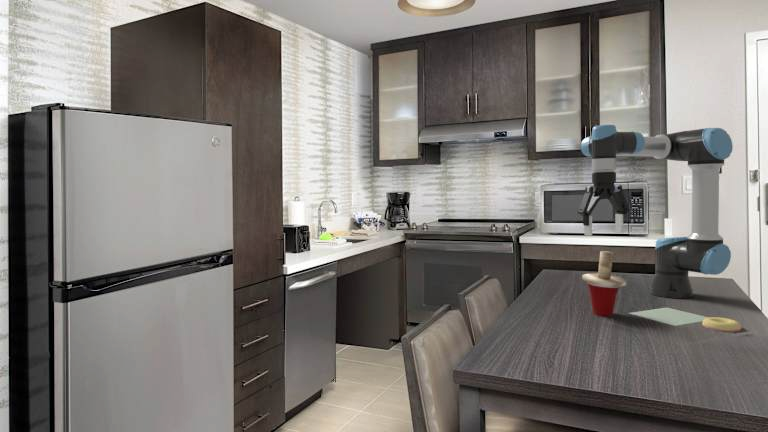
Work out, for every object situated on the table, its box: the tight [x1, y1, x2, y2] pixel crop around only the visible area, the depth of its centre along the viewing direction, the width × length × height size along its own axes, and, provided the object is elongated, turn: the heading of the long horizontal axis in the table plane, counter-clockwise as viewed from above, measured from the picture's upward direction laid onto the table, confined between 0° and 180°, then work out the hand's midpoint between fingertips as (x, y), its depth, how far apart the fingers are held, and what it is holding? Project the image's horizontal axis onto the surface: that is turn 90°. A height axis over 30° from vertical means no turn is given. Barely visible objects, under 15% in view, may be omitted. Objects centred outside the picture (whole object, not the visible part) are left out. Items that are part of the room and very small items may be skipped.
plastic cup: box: [586, 282, 620, 317], centre depth 178 cm, size 11×11×12 cm
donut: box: [701, 316, 742, 333], centre depth 159 cm, size 10×5×9 cm
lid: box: [581, 250, 628, 288], centre depth 177 cm, size 14×14×10 cm
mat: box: [628, 307, 710, 327], centre depth 173 cm, size 18×18×1 cm
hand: (604, 234), depth 177 cm, fingers open, 13 cm apart
